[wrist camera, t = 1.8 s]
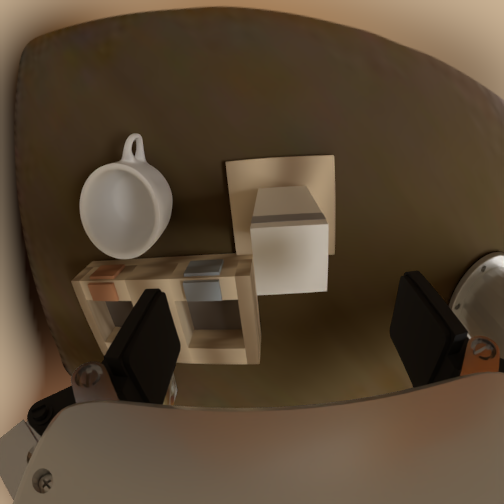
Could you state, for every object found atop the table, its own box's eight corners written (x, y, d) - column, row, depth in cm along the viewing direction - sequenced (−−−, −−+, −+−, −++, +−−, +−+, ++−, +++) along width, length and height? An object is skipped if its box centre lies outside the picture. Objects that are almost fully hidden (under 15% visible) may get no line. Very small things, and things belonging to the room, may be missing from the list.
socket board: (252, 249, 27) (249, 274, 22) (261, 334, 31) (259, 366, 26) (91, 258, 28) (67, 280, 24) (118, 332, 32) (102, 357, 28)
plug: (306, 185, 23) (328, 223, 14) (307, 230, 25) (327, 291, 16) (257, 188, 24) (249, 228, 15) (262, 233, 25) (256, 295, 16)
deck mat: (332, 154, 23) (334, 155, 22) (333, 252, 26) (334, 254, 26) (226, 161, 23) (225, 162, 23) (237, 257, 27) (237, 260, 27)
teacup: (176, 242, 27) (157, 268, 22) (108, 227, 27) (80, 248, 22) (191, 137, 23) (170, 140, 18) (115, 128, 22) (82, 132, 18)
